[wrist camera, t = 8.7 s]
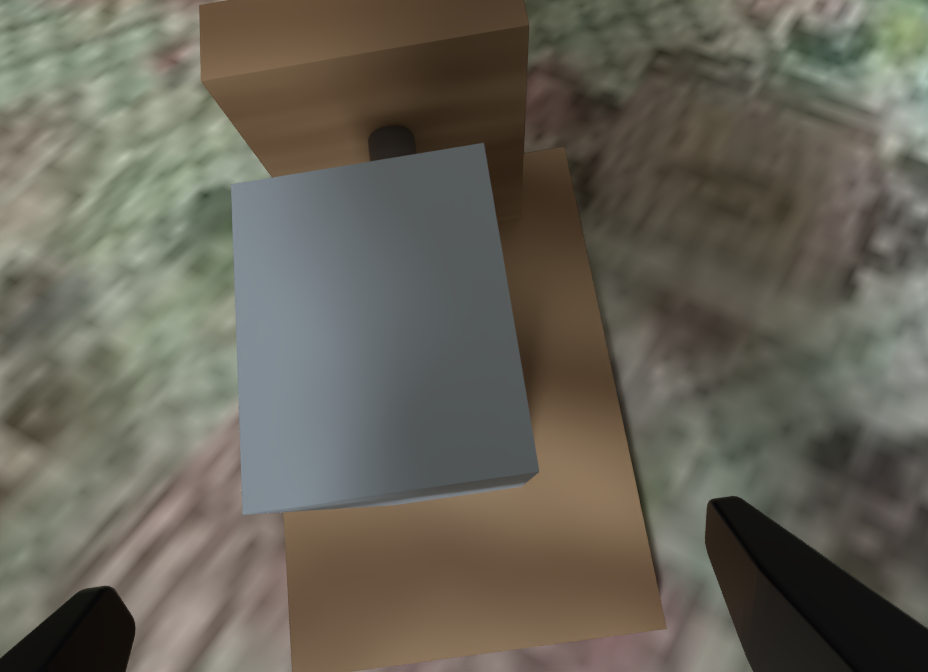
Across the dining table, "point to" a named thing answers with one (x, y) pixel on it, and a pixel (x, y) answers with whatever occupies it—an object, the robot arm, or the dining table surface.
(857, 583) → the robot arm
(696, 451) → the dining table surface
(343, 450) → the grey rectangular block
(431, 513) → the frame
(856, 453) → the dining table surface
